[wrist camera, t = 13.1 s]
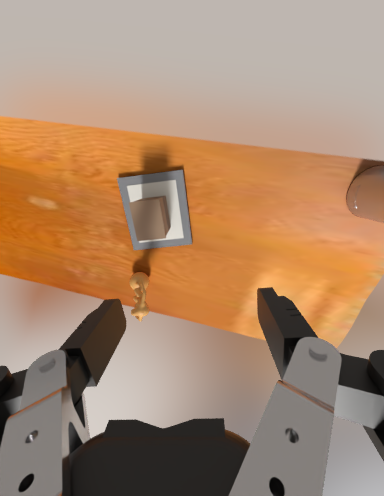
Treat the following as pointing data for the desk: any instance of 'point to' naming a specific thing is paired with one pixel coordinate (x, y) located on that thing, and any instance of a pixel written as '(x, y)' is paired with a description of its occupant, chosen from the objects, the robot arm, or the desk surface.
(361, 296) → the desk surface
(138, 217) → the walnut box
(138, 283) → the figurine
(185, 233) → the mat
